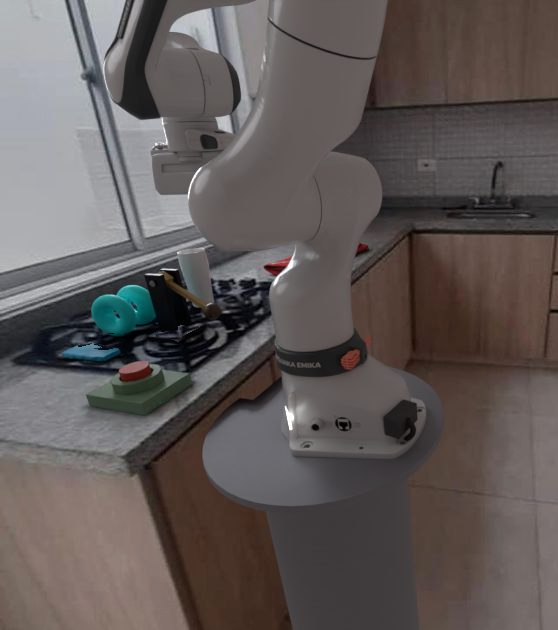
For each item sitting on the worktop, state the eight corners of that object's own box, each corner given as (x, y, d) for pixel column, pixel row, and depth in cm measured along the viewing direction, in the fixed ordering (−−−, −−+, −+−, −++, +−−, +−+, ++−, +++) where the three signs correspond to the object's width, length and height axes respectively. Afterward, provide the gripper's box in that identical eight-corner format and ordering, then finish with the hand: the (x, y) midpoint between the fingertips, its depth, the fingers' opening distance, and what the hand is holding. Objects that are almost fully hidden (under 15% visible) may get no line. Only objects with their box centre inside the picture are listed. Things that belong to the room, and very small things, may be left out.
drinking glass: (213, 308, 116) (200, 252, 111) (186, 310, 116) (172, 254, 110) (220, 300, 123) (208, 247, 117) (195, 302, 122) (182, 248, 116)
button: (157, 371, 76) (155, 362, 75) (135, 384, 72) (132, 374, 71) (138, 368, 77) (135, 359, 76) (115, 381, 73) (112, 371, 73)
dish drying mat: (369, 249, 173) (369, 240, 172) (300, 278, 139) (298, 267, 138) (337, 247, 180) (336, 238, 178) (263, 274, 146) (261, 263, 144)
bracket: (206, 328, 103) (192, 267, 98) (176, 344, 95) (158, 278, 90) (179, 325, 106) (163, 265, 100) (148, 341, 98) (129, 277, 92)
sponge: (92, 362, 87) (120, 347, 91) (58, 353, 92) (87, 339, 96) (95, 368, 87) (123, 353, 92) (62, 359, 92) (90, 345, 97)
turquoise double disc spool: (96, 338, 101) (82, 297, 97) (128, 321, 110) (116, 283, 106) (135, 338, 99) (122, 297, 96) (165, 322, 109) (154, 283, 105)
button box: (192, 383, 78) (187, 363, 77) (145, 415, 70) (137, 393, 68) (141, 376, 82) (135, 357, 81) (89, 406, 73) (81, 384, 72)
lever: (222, 318, 97) (226, 306, 96) (211, 325, 94) (215, 312, 92) (163, 280, 98) (166, 267, 97) (150, 285, 95) (152, 272, 93)
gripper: (134, 143, 79) (154, 221, 84) (229, 138, 73) (245, 221, 79) (162, 143, 85) (180, 215, 90) (252, 138, 79) (266, 215, 84)
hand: (211, 218), depth 84 cm, fingers closed
